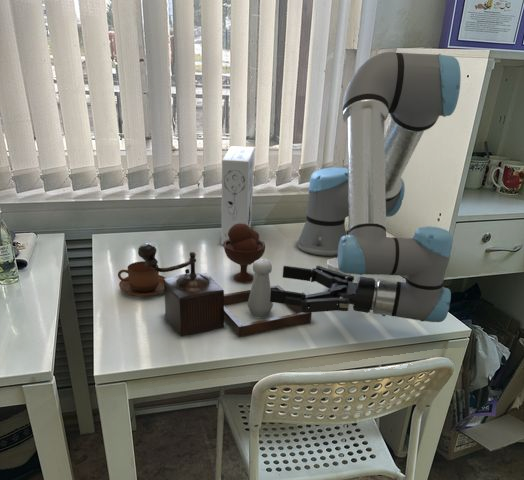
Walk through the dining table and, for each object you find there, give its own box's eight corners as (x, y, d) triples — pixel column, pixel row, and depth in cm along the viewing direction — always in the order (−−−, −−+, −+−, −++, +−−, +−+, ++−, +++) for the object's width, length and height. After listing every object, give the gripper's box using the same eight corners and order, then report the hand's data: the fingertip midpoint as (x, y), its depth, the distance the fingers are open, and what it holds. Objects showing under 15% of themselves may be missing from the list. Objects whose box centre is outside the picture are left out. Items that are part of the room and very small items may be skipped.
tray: (277, 294, 130) (278, 285, 128) (310, 322, 118) (311, 312, 116) (210, 305, 122) (210, 296, 121) (238, 337, 110) (239, 326, 109)
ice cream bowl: (259, 289, 132) (262, 231, 124) (217, 283, 133) (217, 227, 126) (267, 273, 141) (270, 219, 133) (228, 268, 142) (228, 214, 135)
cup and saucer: (124, 303, 121) (121, 279, 118) (116, 283, 131) (114, 260, 128) (174, 297, 125) (173, 273, 122) (163, 278, 135) (162, 255, 132)
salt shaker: (253, 321, 117) (255, 267, 110) (243, 310, 121) (245, 258, 114) (276, 317, 119) (279, 264, 112) (266, 306, 123) (269, 255, 117)
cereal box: (245, 246, 158) (248, 161, 145) (221, 244, 158) (221, 159, 145) (251, 224, 176) (254, 147, 163) (229, 223, 177) (230, 145, 164)
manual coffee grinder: (206, 307, 122) (205, 233, 112) (225, 328, 113) (226, 250, 104) (141, 319, 115) (134, 241, 106) (156, 342, 107) (151, 260, 98)
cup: (329, 299, 128) (333, 269, 124) (314, 283, 137) (317, 254, 132) (355, 297, 130) (359, 267, 126) (338, 281, 138) (342, 252, 134)
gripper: (367, 338, 103) (263, 323, 106) (373, 288, 124) (286, 277, 127) (373, 305, 99) (265, 289, 103) (378, 259, 120) (288, 248, 123)
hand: (277, 282), depth 115 cm, fingers open, 13 cm apart
